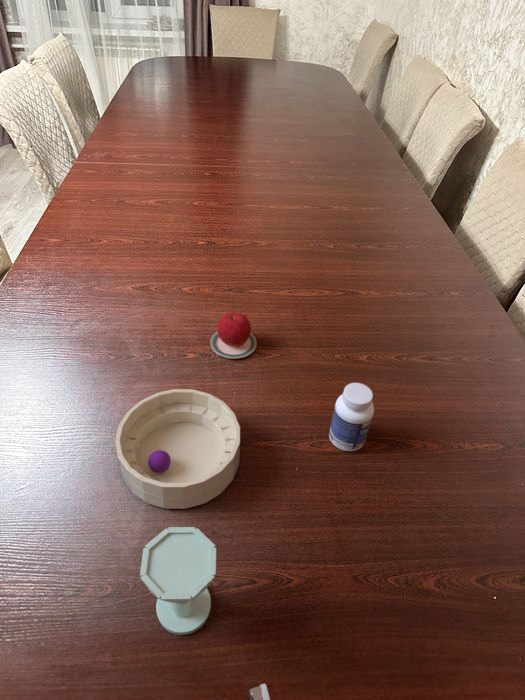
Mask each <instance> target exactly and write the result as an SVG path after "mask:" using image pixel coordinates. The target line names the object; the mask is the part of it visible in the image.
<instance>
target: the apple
mask: <svg viewBox="0 0 525 700" xmlns="http://www.w3.org/2000/svg"><path fill="white" fill-rule="evenodd" d="M216 330H217V331H216V332H215V333H213V335H212V336H211V338H210V341H209V342H210V347H211V349H212V351H213V353H215V354H216V355H218V356H220V357H222V358H225V359H233V360H234V359H235V360H236V359H242V358H246V357H248V356H249V355H251V354H253V353H254V352H255V350H256V348H257V339H256V337H255V336H254V334H253V333H252V326H251V322H250V320H249V318H248V317H247V316H246V315H245V314H243V313H241V312H236V311H232V312H231V311H230V312H227V313H225V314H223V315H222V316H221V317H220V319H219V321H218V323H217V328H216Z"/></svg>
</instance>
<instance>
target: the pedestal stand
mask: <svg viewBox="0 0 525 700" xmlns="http://www.w3.org/2000/svg"><path fill="white" fill-rule="evenodd" d="M140 564H141V566H140V569H139V570H140V572H139V577H140V580H141V581H142V582H143V584H144V585H145V587H146V588H147V590H148V591H149V592H150V593H151V595H153V596H154V597H156V598H157V599H156V602H155V603H156V604H155V610H156V617H157V620H158V622H159V623H160V625H161V627H162V628H163V629H164V630H166V631H167V632H168V633H171V634H173V635H175V636H186V635H190V634H193V633H195V632H197V631H198V630H199V629H201V628H202V627H203V626H204V625H205V624H206V622H207V620H208V618H209V616H210V614H211V609H212V598H211V594H210V591H209V589H208V587H209V586H210V585H211V583H212V582H213V581H214V579H215V578H216V576H217V547H216V544H215V543H214V542H213V541H211V539H209V537H208V536H206V535H205V534H204V533H203V532H202V531H201V530H200V529H199V528H198V527H197V528H196V527H195V526H169V527H168V528H167V527H166V528H164V529H163V530H161V532H160V533H158V534H157V535H156V536H155V537H153V538H152V539H151V540H150V541H149V542H148V543H146V544H145V545H144V547H143V549H142V557H141V563H140Z"/></svg>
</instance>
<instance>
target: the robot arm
mask: <svg viewBox="0 0 525 700" xmlns="http://www.w3.org/2000/svg"><path fill="white" fill-rule="evenodd" d="M248 697H249V700H271V698H270V693H269V690H268V687H267V684H266V683H265V682H264V683H261V684H258V685H255V686H252V687H250V688H248Z"/></svg>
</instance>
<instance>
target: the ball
mask: <svg viewBox="0 0 525 700" xmlns="http://www.w3.org/2000/svg"><path fill="white" fill-rule="evenodd" d="M170 464H171V458H170V456H169V454H168V453H167V452H165V451H163V450H157V451H155V452H153V453H152V454H151V455H150V456H149V459H148V465H149V468H150V469H151V470H152V471H153V472H156V473H163V472H165V471H166V470H167V469H168V468H169V467H170Z"/></svg>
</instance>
